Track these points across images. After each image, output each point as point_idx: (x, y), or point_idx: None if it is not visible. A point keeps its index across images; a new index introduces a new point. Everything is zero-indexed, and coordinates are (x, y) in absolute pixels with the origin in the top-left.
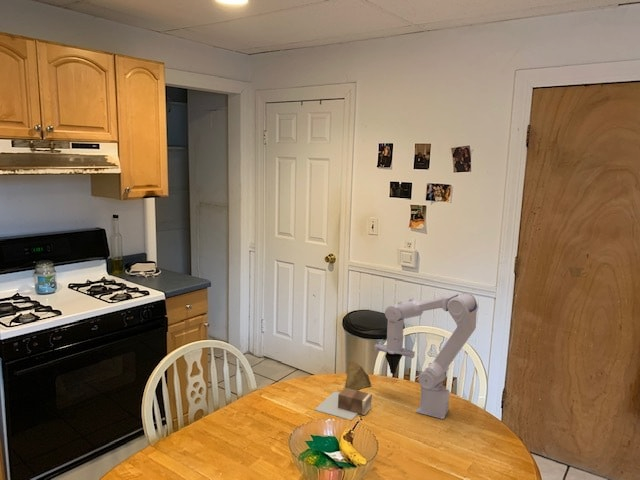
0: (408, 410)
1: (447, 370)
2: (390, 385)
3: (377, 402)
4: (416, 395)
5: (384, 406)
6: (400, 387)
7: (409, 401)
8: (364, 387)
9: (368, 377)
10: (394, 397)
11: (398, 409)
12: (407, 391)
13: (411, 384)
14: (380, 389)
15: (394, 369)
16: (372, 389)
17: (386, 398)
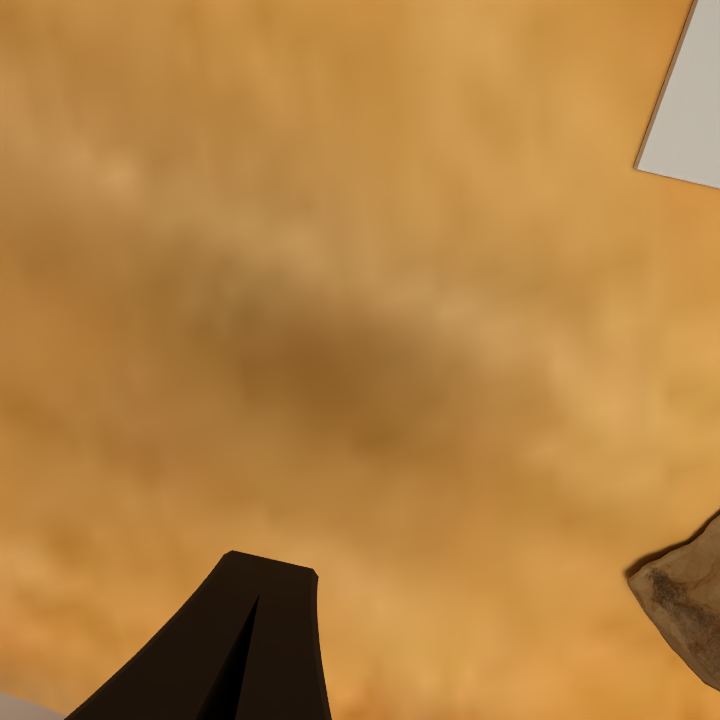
0: (59, 51)
1: None
2: (394, 639)
3: (515, 159)
4: (71, 486)
5: (402, 62)
6: None
7: (109, 318)
8: (715, 520)
9: (711, 661)
10: (305, 371)
11: (194, 33)
12: (186, 551)
13: None
14: (502, 526)
15: (170, 624)
16: (604, 504)
17: (402, 316)
